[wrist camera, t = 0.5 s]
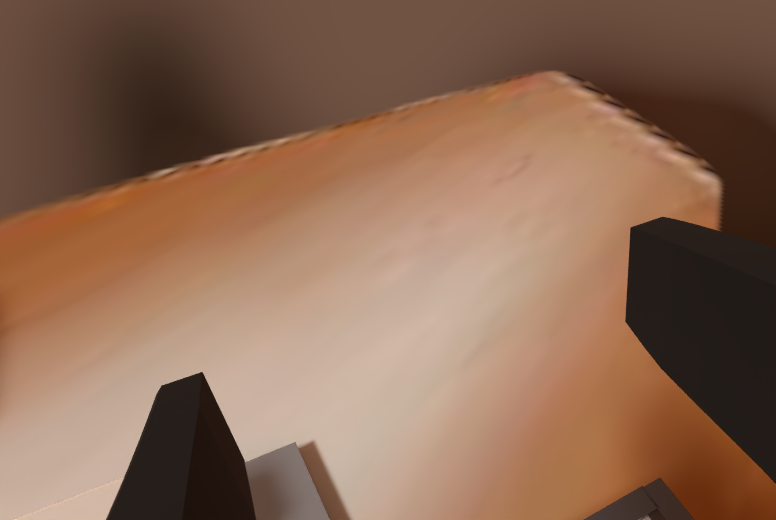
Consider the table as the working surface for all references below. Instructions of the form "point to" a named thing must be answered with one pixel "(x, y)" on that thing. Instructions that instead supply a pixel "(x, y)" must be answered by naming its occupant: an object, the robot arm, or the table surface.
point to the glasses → (645, 505)
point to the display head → (267, 484)
